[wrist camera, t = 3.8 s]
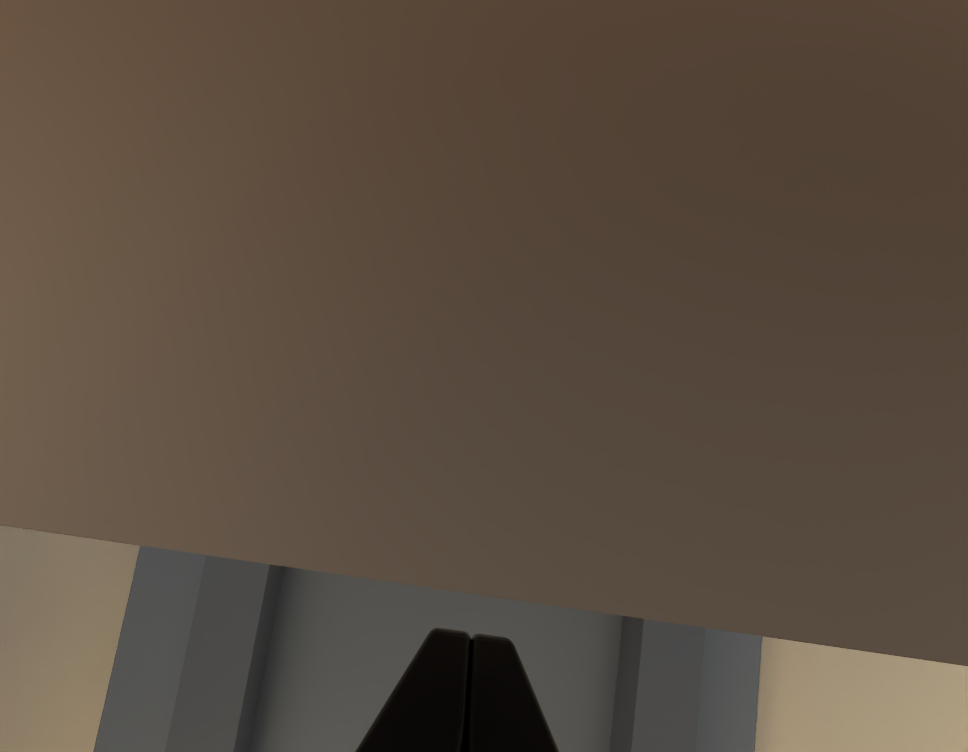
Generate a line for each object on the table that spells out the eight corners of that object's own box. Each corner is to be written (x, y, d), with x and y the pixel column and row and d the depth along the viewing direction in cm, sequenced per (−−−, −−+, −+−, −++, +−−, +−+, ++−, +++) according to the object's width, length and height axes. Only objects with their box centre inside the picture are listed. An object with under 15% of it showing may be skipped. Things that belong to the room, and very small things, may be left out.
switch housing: (714, 1011, 15) (770, 1095, 13) (72, 927, 15) (2, 997, 12) (792, -74, 20) (843, -163, 18) (314, -156, 20) (299, -260, 17)
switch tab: (613, 604, 15) (1426, 732, 3) (299, 558, 15) (-275, 484, 3) (631, 432, 16) (1348, -57, 4) (331, 386, 16) (-8, -297, 3)
